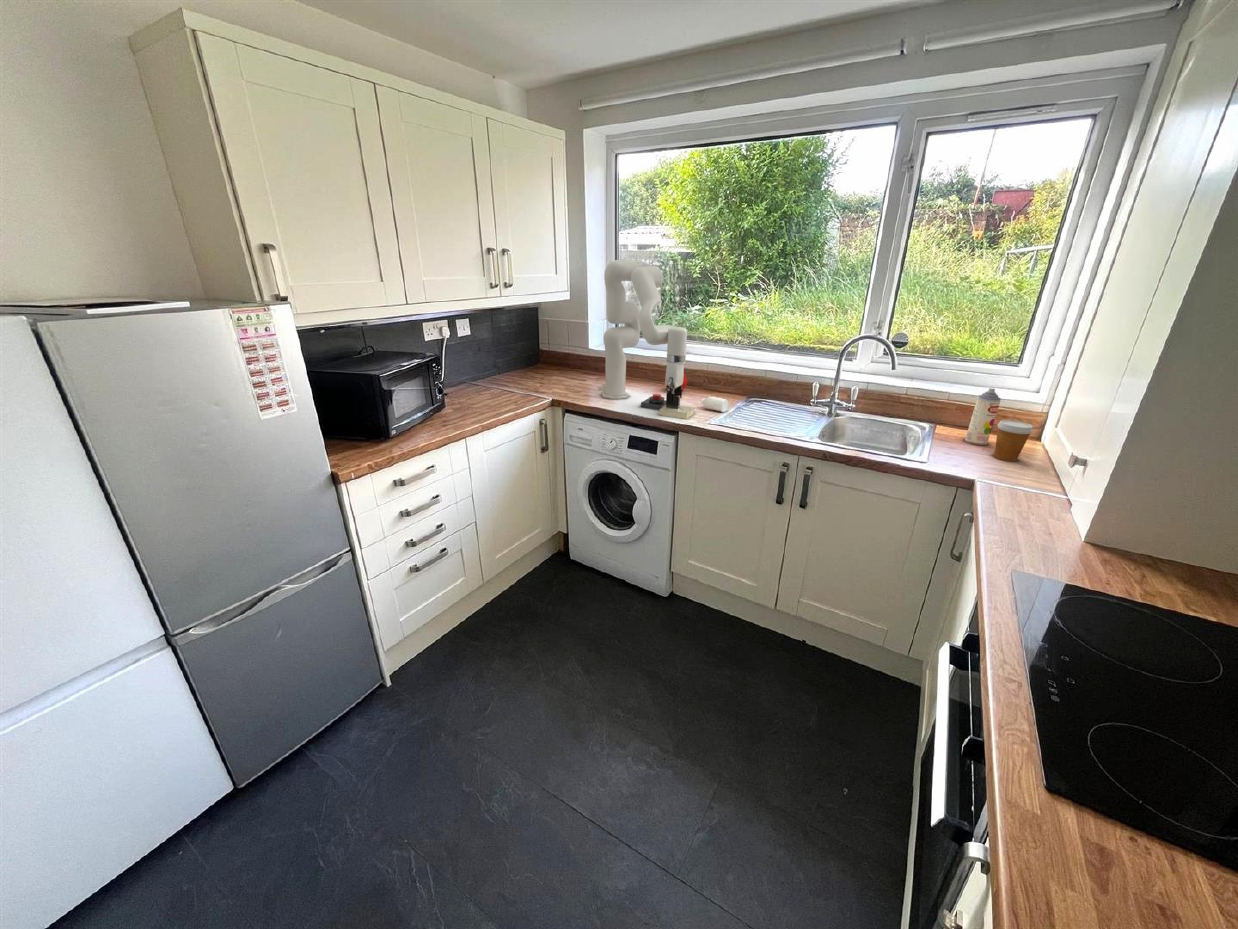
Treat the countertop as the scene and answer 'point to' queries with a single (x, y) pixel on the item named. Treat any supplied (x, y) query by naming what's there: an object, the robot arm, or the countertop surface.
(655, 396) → the button
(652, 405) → the block
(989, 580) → the countertop surface
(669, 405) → the black rectangular block
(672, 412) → the cream flat block
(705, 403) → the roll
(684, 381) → the tomato
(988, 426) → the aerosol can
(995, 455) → the disposable coffee cup
